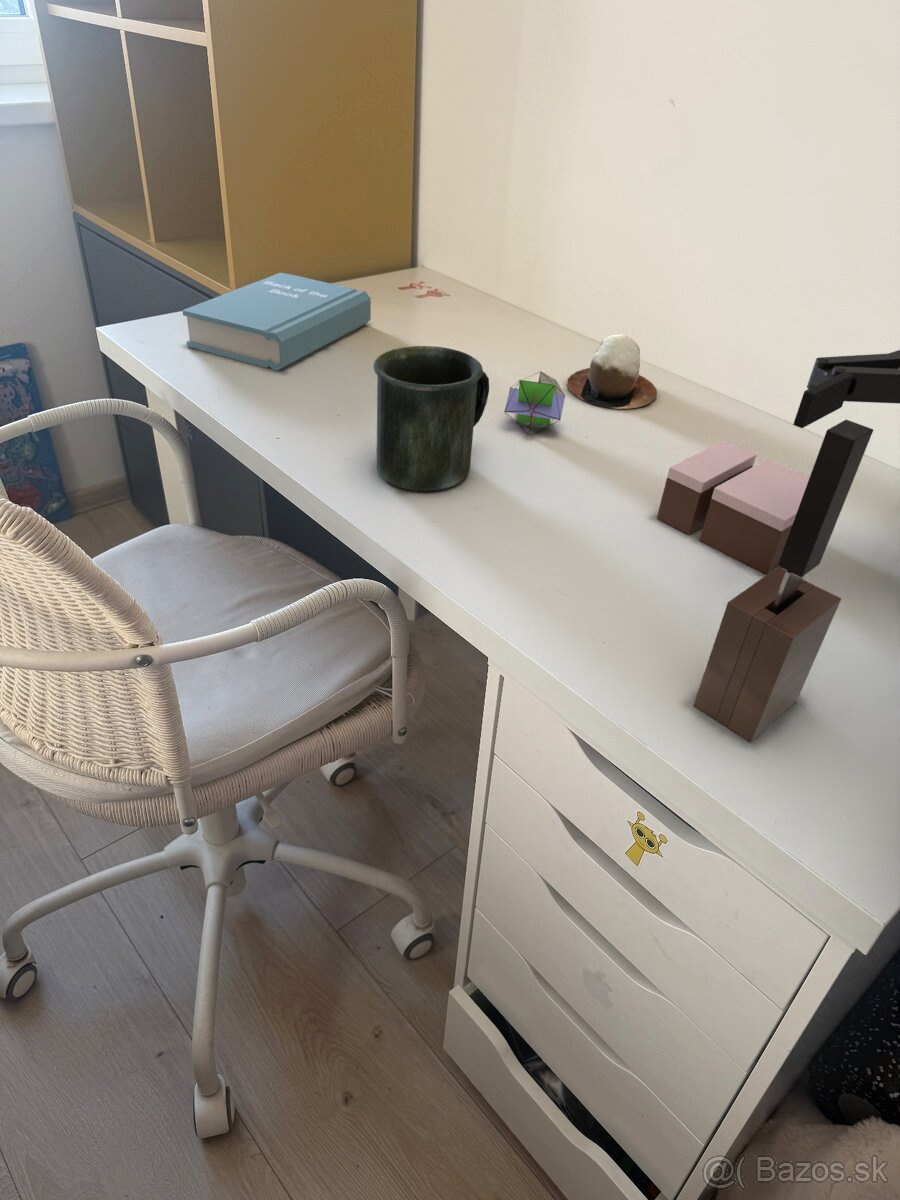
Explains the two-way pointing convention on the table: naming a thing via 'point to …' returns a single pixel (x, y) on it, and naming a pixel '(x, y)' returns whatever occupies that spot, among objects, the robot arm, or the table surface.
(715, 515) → the cake
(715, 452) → the cake slice
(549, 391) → the geometric puzzle
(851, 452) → the knife
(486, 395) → the mug
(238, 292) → the book
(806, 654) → the knife block
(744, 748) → the table surface
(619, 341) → the hat
